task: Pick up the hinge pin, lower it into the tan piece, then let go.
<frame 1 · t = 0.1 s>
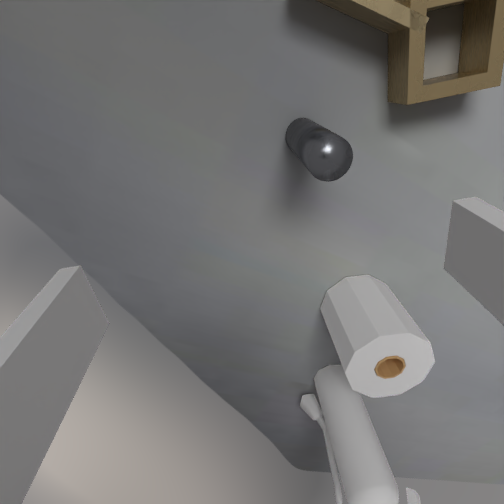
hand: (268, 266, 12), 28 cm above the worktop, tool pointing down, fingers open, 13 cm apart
tan piece: (431, 45, 33), on the worktop
hinge pin: (301, 135, 37), on the worktop
fire extinguisher: (328, 378, 56), on the worktop
toilet paper: (354, 303, 49), on the worktop
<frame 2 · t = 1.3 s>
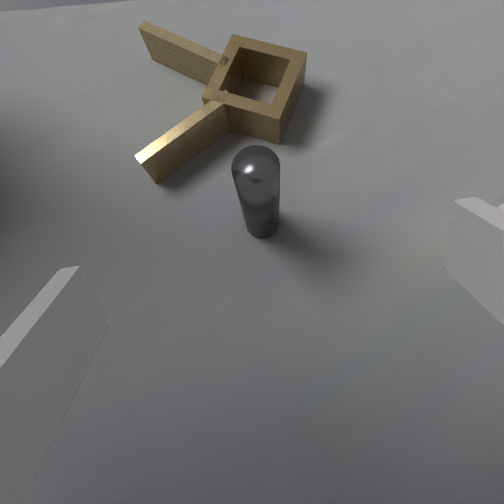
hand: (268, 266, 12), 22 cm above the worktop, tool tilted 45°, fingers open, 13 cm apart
tan piece: (257, 103, 40), on the worktop
hinge pin: (262, 222, 36), on the worktop
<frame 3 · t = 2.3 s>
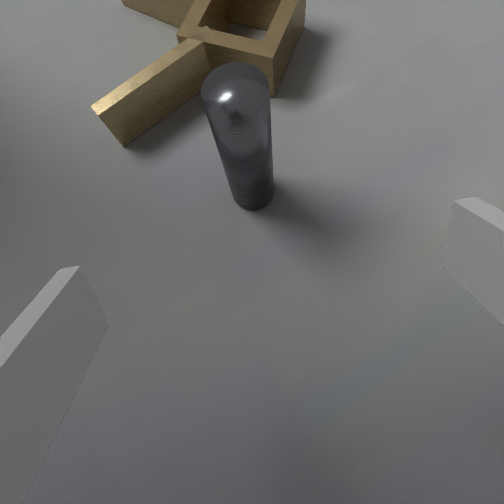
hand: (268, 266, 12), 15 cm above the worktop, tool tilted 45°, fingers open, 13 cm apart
tan piece: (247, 51, 33), on the worktop
hinge pin: (253, 191, 29), on the worktop
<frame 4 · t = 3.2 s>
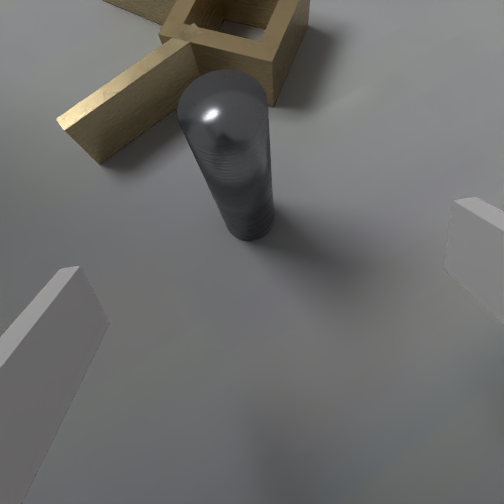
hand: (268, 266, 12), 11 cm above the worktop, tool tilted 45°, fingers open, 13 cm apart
tan piece: (242, 52, 29), on the worktop
hinge pin: (249, 217, 25), on the worktop
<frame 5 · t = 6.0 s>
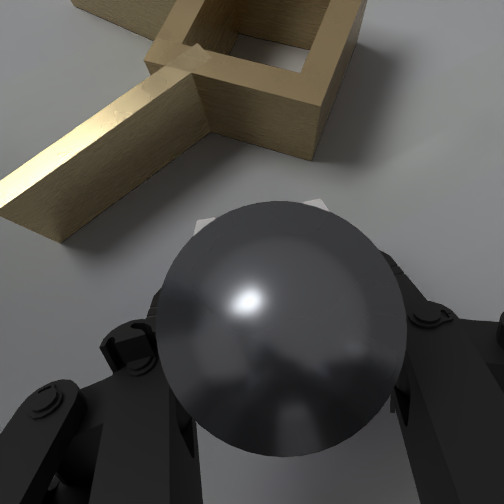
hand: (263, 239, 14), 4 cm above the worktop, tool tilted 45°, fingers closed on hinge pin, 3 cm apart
tan piece: (265, 80, 20), on the worktop
hinge pin: (279, 335, 16), on the worktop, touching gripper
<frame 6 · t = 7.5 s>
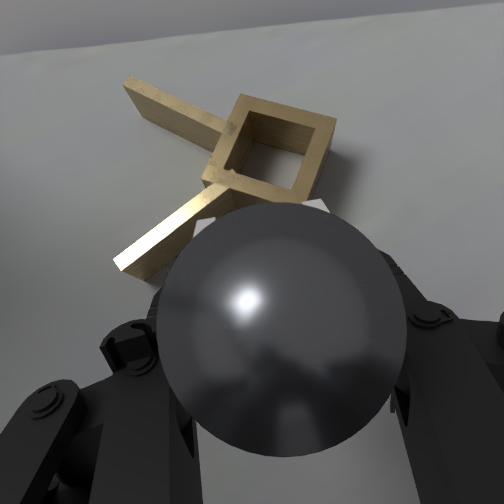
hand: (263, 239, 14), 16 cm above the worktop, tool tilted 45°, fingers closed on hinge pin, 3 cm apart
tan piece: (271, 175, 32), on the worktop
hinge pin: (279, 335, 16), point 12 cm above the worktop, touching gripper
when the fingers open (6 cm above the worktop, at t = 11.9 s): hinge pin drops 2 cm, resting in tan piece.
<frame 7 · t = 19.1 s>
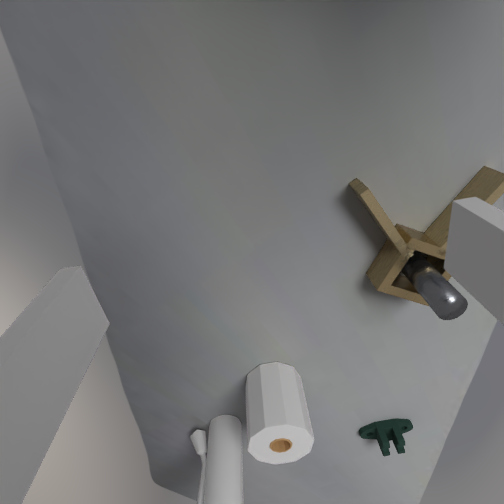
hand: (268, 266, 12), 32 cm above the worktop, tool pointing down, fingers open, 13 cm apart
mount: (383, 425, 70), on the worktop
tan piece: (405, 257, 50), on the worktop
hinge pin: (405, 256, 50), resting in tan piece
fire extinguisher: (222, 424, 67), on the worktop
toilet paper: (272, 380, 62), on the worktop
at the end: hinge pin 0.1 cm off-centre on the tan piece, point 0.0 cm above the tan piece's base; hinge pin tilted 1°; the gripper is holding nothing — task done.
